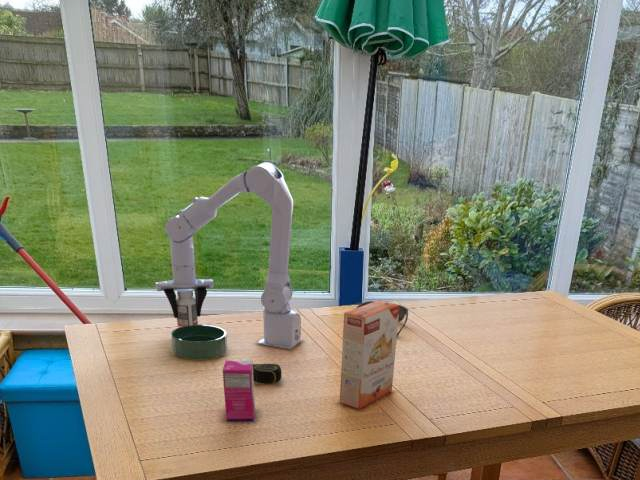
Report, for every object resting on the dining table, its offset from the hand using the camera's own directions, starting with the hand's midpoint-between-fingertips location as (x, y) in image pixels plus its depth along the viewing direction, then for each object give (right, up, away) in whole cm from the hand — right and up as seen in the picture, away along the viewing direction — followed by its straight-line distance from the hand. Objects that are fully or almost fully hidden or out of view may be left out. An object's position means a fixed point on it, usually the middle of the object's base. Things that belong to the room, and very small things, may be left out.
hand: (187, 316), depth 194 cm
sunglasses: (+51, +1, +18) cm, 54 cm away
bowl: (+6, -11, -9) cm, 16 cm away
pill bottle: (0, -3, +2) cm, 3 cm away
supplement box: (+22, -30, -41) cm, 55 cm away
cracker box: (+49, -25, -28) cm, 61 cm away
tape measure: (+25, -21, -23) cm, 39 cm away
